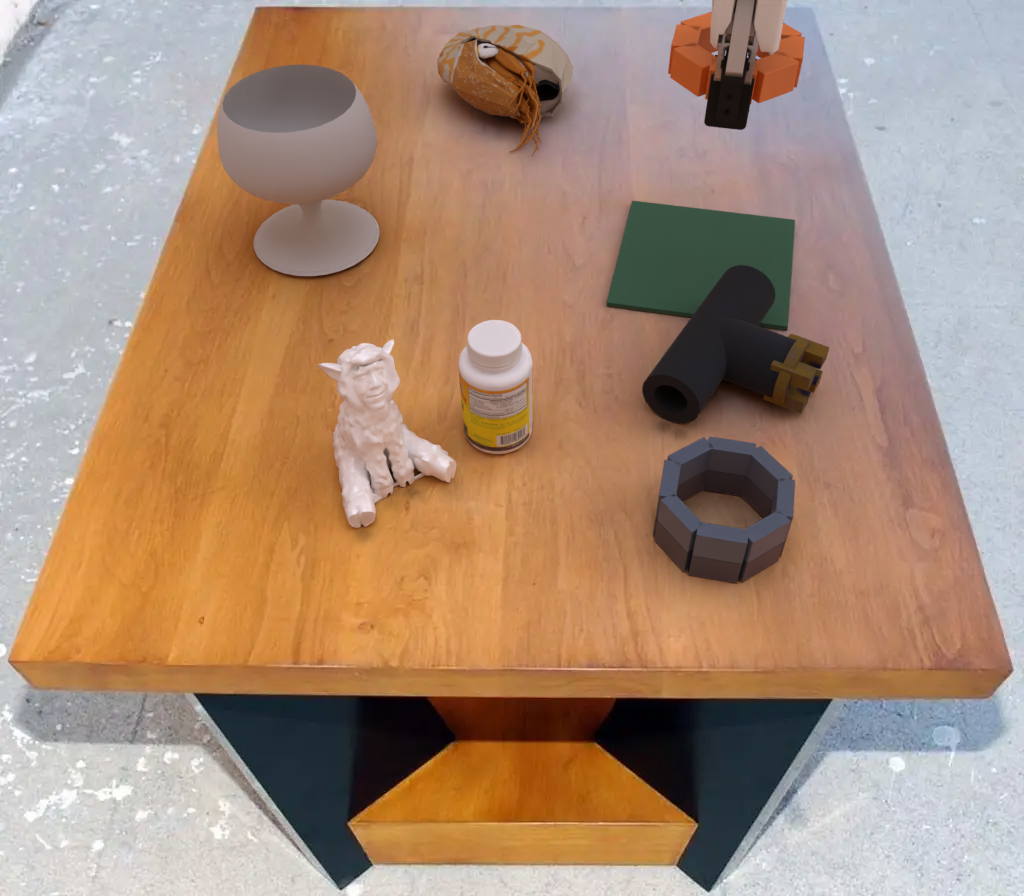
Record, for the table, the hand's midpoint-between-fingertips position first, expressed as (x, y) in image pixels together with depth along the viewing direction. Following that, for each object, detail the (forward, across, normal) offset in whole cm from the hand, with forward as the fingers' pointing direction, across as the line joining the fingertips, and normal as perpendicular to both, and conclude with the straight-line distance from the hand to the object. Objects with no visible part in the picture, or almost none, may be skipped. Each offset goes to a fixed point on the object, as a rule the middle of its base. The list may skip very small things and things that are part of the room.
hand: (726, 114), depth 79 cm
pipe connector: (+18, -11, -5) cm, 21 cm away
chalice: (+18, 0, +37) cm, 41 cm away
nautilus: (+18, +26, +24) cm, 40 cm away
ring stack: (+18, -27, -4) cm, 32 cm away
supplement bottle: (+18, -21, +14) cm, 31 cm away
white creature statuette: (+18, -27, +22) cm, 39 cm away
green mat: (+18, +4, 0) cm, 18 cm away
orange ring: (-2, +4, 0) cm, 4 cm away
